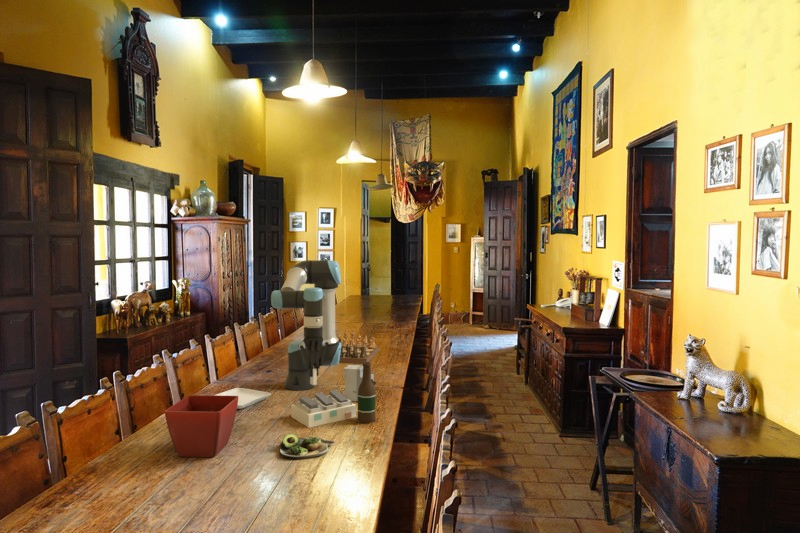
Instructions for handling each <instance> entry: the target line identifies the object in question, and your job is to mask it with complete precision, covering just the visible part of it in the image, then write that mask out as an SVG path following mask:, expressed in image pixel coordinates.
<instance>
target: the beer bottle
mask: <svg viewBox="0 0 800 533" xmlns="http://www.w3.org/2000/svg"><path fill="white" fill-rule="evenodd" d="M361 365H362V366H363V378H362V382H361V384H360V385H359V388H358V401H357V422H359V423H361V424H371V423H374V422H376V402H377V401H376V396H377V395H376V386H375V385H374V384H373V383H372V381H371V374H372V371H371V369H372V368H371V366H372V362H370V361H369V362H364V363H363V364H361Z"/></svg>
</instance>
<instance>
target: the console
mask: <svg viewBox="0 0 800 533" xmlns="http://www.w3.org/2000/svg"><path fill="white" fill-rule="evenodd" d="M325 396H326V397H328V398H329V399H330V400H331V401H332V402H333V405H328V406H325V405H323V404H322V403H321V402H320V401H318V400H317V399H316V398H315V397H314V398H310V399H311V400H313V401H314V402H316V403H317V404H318V408H314V409H310V408H308V407H307V406H305V405H304V404H303V403H301V402H300V400H298V401H294V404H291V406H290V417H291V418H292V419H294V420H296V421H297V422H299V423H300V424H302V425H304V426H305V427H307V428H313V427H317V426H323V425H326V424H327V425H328V424H330V423H334V422H338V421H340V422H341V421H344V420H347V419H352V418H356V417H357V404H355V403H353V401H351V400H348V401H347V402H343V403H340V402H338V401H336V400H335V399H334V398H333V397H332V396H331V395H330V394H328V395H325Z"/></svg>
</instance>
